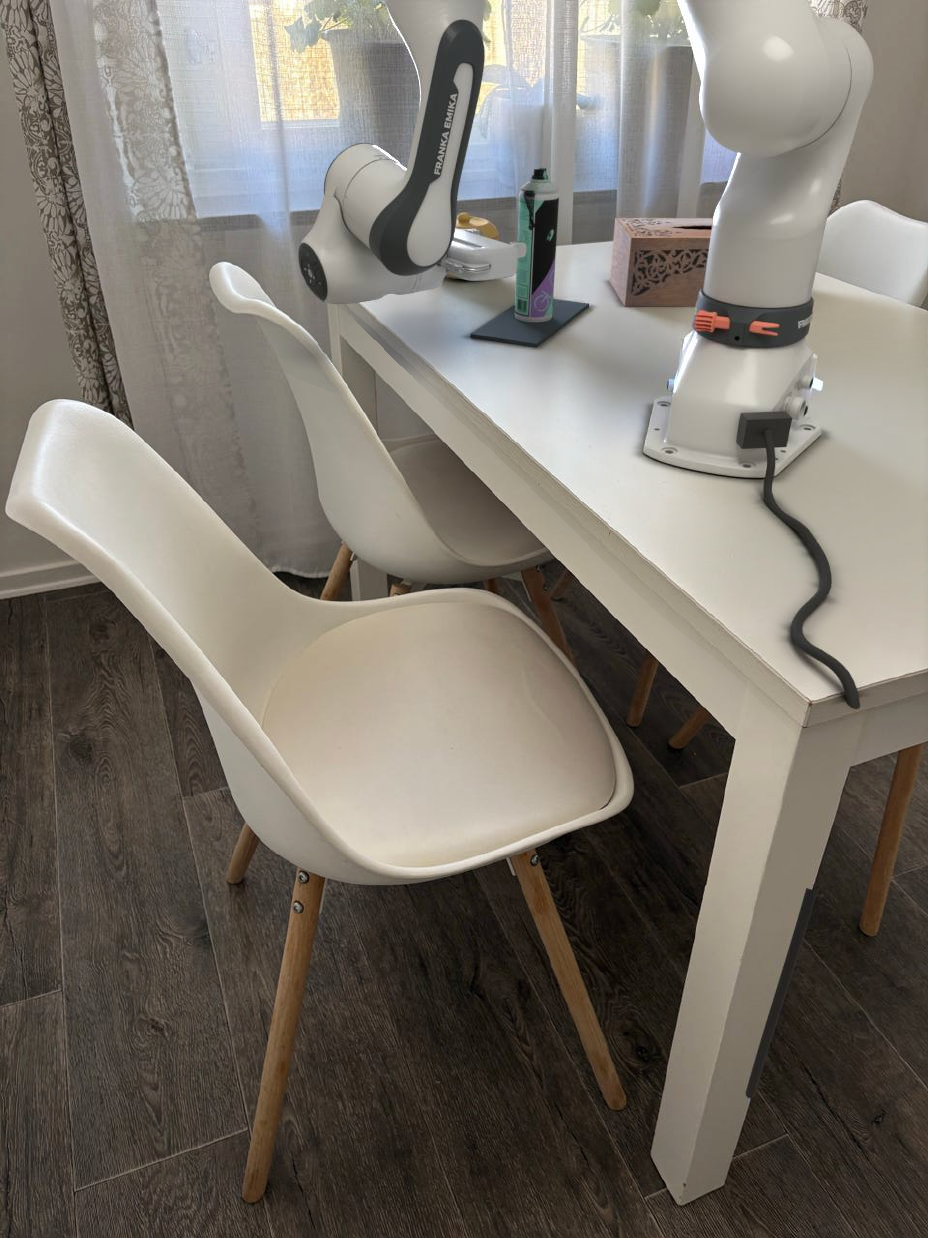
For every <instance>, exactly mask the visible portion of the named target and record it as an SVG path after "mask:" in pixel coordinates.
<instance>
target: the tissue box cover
mask: <svg viewBox="0 0 928 1238" xmlns="http://www.w3.org/2000/svg"><path fill="white" fill-rule="evenodd" d="M712 223H713V217H615V218H614V230H613V238H612V239H613V240H612V249H611V250H612V251H611V261H610V262H611V263H610V275H609V284H610V285H611V287H612V288H613V290H614V291H615V293H616V295H617V297H618V298H619V299H620V300H621V303H622V304H623V306H624V307H695V305H696V302H697V300H698V295H699V291H700V289H702V288H703V287H704V281H705V274H706V266H707V259H708V252H709V245H710V237H711V230H712Z"/></svg>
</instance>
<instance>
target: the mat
mask: <svg viewBox="0 0 928 1238" xmlns="http://www.w3.org/2000/svg"><path fill="white" fill-rule="evenodd" d="M588 308H590V303H589V302H580V301H574V300H573V301H572V300H567V299H566V300H565V299H557V298H553V309H552V318H551V319H550V320H548V321H545V322H525V321H521V320H518V319H516V318H515V304H514V305H512V306H510V307H509V308H507V309H506V310H505V311H503V312H502V313H500V314H498V315H497V316H495V317H494V318H492V319H490V320H489V321H487V322H486V323H485V324H483V325H481V326H479V327H478V328H476V329H475V330H474V331H472V332H471V333H470V334H469V337H470V338H472V339H478V340H479V339H480V340H485V341H493V342H500V343H505V344H511V345H520V346H526V347H533V348H538V347H539V346H540V345H542V344H543V343H544V342H545V341H547V340H549V338H551V337H552V336H553V335H554V334H556V333H557V332H558V331H560V330H561V329H562V328H564V327H565V326H566V325H568V324H569V323H570V322H571V321H573V320H574V319H575V318H576V317H577V316H579V315H580V314H581V313H583V312H584V311H586V310H587V309H588Z"/></svg>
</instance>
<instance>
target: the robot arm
mask: <svg viewBox="0 0 928 1238" xmlns="http://www.w3.org/2000/svg"><path fill="white" fill-rule="evenodd" d="M676 2H677V5H678V7H679V9H680V12H681V15H682V18H683V21H684V24H685V27H686V32H687V35H688V39H689V41H690V45H691V49H692V54H693V57H694V61H695V64H696V69H697V72H698V76H699V80H700V89H699V109H700V114H701V118H702V122H703V124H704V126H705V128H706V130H707V132H708V134H709V135H710V136H711V138H712V139H714V140H715V142H717V143H718V144H719V145H720V146H722V147H723V148H725V149H727V150H729V151H732V152H735V153H737V155H736V157H735V161H734V163H733V167H732V169H731V172H730V175H729V178H728V181H727V184H726V186H725V189H724V191H723V193H722V195H721V198H720V199H719V201H718V203H717V205H716V208H715V210H714V213H713V217H712V218H713V223H712V230H711V237H710V245H709V252H708V259H707V266H706V274H705V281H704V287H703V288H702V289H700V291H699V295H698V300H697V302H696V305H695V306H694V310H693V311H694V313H693V314H694V316H693V320H692V324H691V326H692V330H691V331H690V332H688V333H686V334H685V335H684V336H683V337H681V341H680V350H679V357H678V365H677V371H676V373H675V374H676V375H675V378H674V379H672V378H669V379H668V381H667V382H666V390H667V392H669V393H672V395H666V396H665V395H664V396H659V397H656V398H655V399H654V401H653V406H652V410H651V414H650V418H649V422H648V423H649V424H648V427H647V431H646V436H645V440H644V444H643V449H642V451H643V454H644V455H646V456H648V457H650V458H652V459H654V460H657V461H660V462H662V463H665V464H668V465H672V466H676V467H680V468H684V469H688V470H693V471H698V472H701V473H709V474H715V475H722V476H726V477H727V476H729V477H738V478H750V479H751V478H752V479H753V478H754V479H755V478H758V479H760V478H761V479H762V478H763V479H764V480H763V498H764V501H765V503H766V506H767V508H768V509H769V510H770V512H772V513H773V515H775V516H776V517H777V518H778V519H779V520H781V522H782V523H784V524H785V525H786V526H788V527H790V528H792V529H793V530H795V531H796V532H797V533H798V534H799V535H800V536H801V537H802V539H803V540H804V542H805V543H806V545H807V547H808V548H809V550H810V551H811V553H812V555H813V556H814V558H815V560H816V562H817V564H818V567H819V570H820V585H819V586H820V587H819V589H818V590H817V591H816V593H815V594H814V595H813V596H812V597H810V599H808V600H807V601H806V602H805V603H804V604H803V605H802V606H801V607H800V608H799V609H798V611H797V612H796V613H795V614H794V617H793V618H792V621H791V626H790V630H791V636H792V640H793V642H794V644H795V645H796V646H797V648H798V649H800V650H801V651H802V653H805V654H806V655H808V656H810V657H811V658H813V659H815V660H816V661H818V662H820V663H821V664H823V665H824V666H825V667H827V669H829V670H830V671H831V672H832V673H834V675H835V676H836V677H837V678H838V680H839V682H840V684H841V687H842V688H843V691H844V695H845V699H846V704H847V706H848V707H850V708H851V709H853V710H859V709H860V707H861V702H860V701H861V700H860V696H859V692H858V689H857V685H856V683H855V680H854V678H853V676H852V675H851V673H850V671H848V669H847V668H846V667H845V665H843V663H841V662H840V661H839V660H838V659H836V658H835V657H834V656H832V655H831V654H829V653H828V652H826V651H825V650H822V649H821V648H819V647H817V646H816V645H814V644H812V643H811V642H810V641H809V640H808V639H807V638H806V636H805V635H804V630H803V628H804V627H803V626H804V623H805V621H806V619H807V618H808V617H809V616H810V615H811V614H812V613H813V611H815V610H816V609H817V608H818V607H819V606H820V605H821V604H822V603H823V602H824V601H825V600H826V598H827V597H828V595H829V593H830V591H831V590H832V584H833V578H832V577H833V576H832V571H831V570H832V569H831V565H830V562H829V560H828V557H827V555H826V553H825V552H824V549H823V548H822V547H821V545H820V543H819V542H818V540H817V538H816V537H815V536H814V534H813V533H812V532H811V531H810V529H809V528H808V527H807V526H806V525H805V524H803V523H802V522H801V521H799V520H797V519H796V518H794V517H793V516H791V515H789V514H788V513H786V512H785V511H784V510H783V509H782V508H781V507H780V506H779V505H778V504H777V501H776V500H775V497H774V493H773V483H774V478H775V477H776V476H777V475H779V474H780V473H781V472H782V471H783V470H784V469H785V468H786V467H787V466H789V465H790V464H791V463H792V462H793V461H794V460H795V459H797V457H799V456H800V455H801V454H802V453H803V452H804V451H805V450H806V449H807V448H808V447H810V446H811V445H812V444H813V443H814V442H815V441H816V440H817V439H818V438H819V437H820V436H821V435H822V429H823V425H822V423H820V422H819V421H817V420H815V419H814V418H811V417H809V410H810V403H811V399H812V394H813V389H816V390H817V391H822V389H823V383H824V381H822V380H820V379H818V378H817V377H816V371H817V366H818V365H817V364H818V355H817V354H816V353H815V351H814V350H813V349H812V348H811V347H810V344H809V342H808V341H807V338H806V337H807V336H808V334H809V332H810V328H811V322H812V320H813V315H814V303H815V298H813V296H812V294H813V293H812V292H813V288H814V283H815V278H816V273H817V270H818V269H817V268H818V263H819V259H820V254H821V249H822V244H823V239H824V234H825V229H826V226H827V221H828V218H829V214H830V211H831V207H832V204H833V201H834V198H835V194H836V192H837V189H838V186H839V184H840V181H841V178H842V175H843V172H844V169H845V166H846V163H847V160H848V157H849V154H850V152H851V151H850V150H851V148H852V145H853V141H854V137H855V134H856V131H857V127H858V124H859V120H860V117H861V114H862V110H863V108H864V105H865V103H866V101H867V98H868V96H869V93H870V91H871V89H872V88H871V87H872V84H873V79H874V71H875V70H874V60H873V55H872V52H871V49H870V48H869V47H870V46H869V45H868V44H867V42H866V40H865V39H864V38H863V36H862V34H860V33H859V32H858V31H857V30H856V29H855V28H854V27H853V26H852V25H851V24H849V23H847V22H845V21H844V20H842V19H839V18H836V17H831V16H830V17H829V16H817V15H816V14H815V12H814V10H813V8H812V7H811V4H810V1H809V0H676ZM486 3H487V0H384V4H385V7H386V10H387V12H388V14H389V17H390V19H391V21H392V24H393V26H394V27H395V29H396V30H397V31H398V34H399V35H400V36H401V38H402V40H403V42H404V43H405V46H406V47H407V49H408V52H409V54H410V56H411V59H412V62H413V64H414V67H415V70H416V73H417V78H418V81H419V83H418V84H419V105H418V111H417V117H416V121H415V127H414V132H413V136H412V140H411V146H410V152H409V156H408V161H407V165H406V167H405V166H404V165H403V164H402V163H401V162H399V160H397V159H396V158H394V157H393V156H391V155H390V154H389V153H388V152H386V151H385V150H383V149H382V148H380V147H379V146H377V145H375V144H373V143H369V142H358V143H355V144H353V145H350V146H348V147H346V148H344V149H343V150H342V151H340V152H339V153H338V154H337V155H336V156H335V157H334V158H333V160H332V161H331V163H330V164H329V166H328V168H327V170H326V173H325V177H324V181H323V198H322V201H321V204H320V209H319V212H318V215H317V218H316V219H315V222H314V224H313V226H312V228H311V230H310V231H309V232H308V233H307V234H306V235H305V237H304V238H303V239H302V240H301V241H300V242H299V243H300V244H299V247H298V254H297V255H298V256H297V257H298V258H297V259H298V264H299V266H298V267H299V270H300V273H301V276H302V277H303V279H304V282H305V284H306V286H307V288H308V290H310V291H311V292H312V294H313V295H314V296H315V297H316V298H318V299H319V301H322V302H323V303H326V304H330V305H350V304H359V303H366V302H372V301H376V300H380V299H382V298H384V297H386V296H387V295H397V296H402V295H409V294H414V293H420V292H424V291H430V290H431V291H432V290H435V289H437V288H439V287H440V286H441V284H442V283H443V281H444V279H445V277H446V275H447V274H451V275H454V276H457V277H460V278H462V279H461V280H466V281H471V282H472V281H475V282H477V281H478V282H479V281H489V280H499V279H506V278H511V277H514V276H516V272H517V267H518V258H521V257H524V256H525V255H526V244H525V243H522V242H519V241H518V240H516V241H510V242H509V243H506V242H503V241H500V240H498V241H497V240H493V239H490V238H487V237H483V236H482V235H483V232H482V231H481V230H478V229H475V228H474V229H467V230H466V229H457V228H456V217H458V214H457V213H458V212H457V211H458V196H459V190H460V189H459V188H460V184H461V183H460V182H461V178H462V174H463V170H464V165H465V160H466V155H467V152H468V147H469V143H470V138H471V134H472V130H473V124H474V120H475V116H476V111H477V106H478V103H479V102H478V101H479V96H480V94H481V93H480V92H481V87H482V82H483V76H484V68H485V60H486V58H485V57H486V55H485V54H486V49H485V44H484V36H483V34H484V32H483V31H484V29H483V27H484V16H485V15H484V14H485V8H486ZM817 894H818V890H814V889H811V888H809V887H806V888H805V891H804V894H803V898H802V901H801V905H800V908H799V913H798V916H797V920H796V923H795V926H794V929H793V933H792V935H791V940H790V943H789V946H788V949H787V952H786V956H785V960H784V962H783V966H782V969H781V973H780V976H779V979H778V982H777V986H776V988H775V989H776V990H775V992H774V994H773V998H772V1002H771V1005H770V1007H769V1012H768V1015H767V1018H766V1021H765V1025H764V1028H763V1031H762V1034H761V1038H760V1041H759V1045H758V1047H757V1051H756V1054H755V1057H754V1060H753V1061H754V1062H753V1065H752V1069H751V1072H750V1075H749V1079H748V1082H747V1086H746V1090H745V1096H746V1097H747V1098H748V1099H751V1100H752V1099H754V1098H755V1095H756V1092H757V1089H758V1086H759V1083H760V1079H761V1075H762V1072H763V1069H764V1066H765V1063H766V1060H767V1059H766V1058H767V1055H768V1053H769V1049H770V1045H771V1043H772V1039H773V1036H774V1033H775V1030H776V1027H777V1025H778V1021H779V1018H780V1013H781V1011H782V1007H783V1005H784V1002H785V998H786V995H787V993H788V989H789V987H790V982H791V980H792V976H793V973H794V971H795V966H796V963H797V961H798V957H799V954H800V950H801V947H802V944H803V941H804V937H805V934H806V931H807V928H808V924H809V921H810V918H811V915H812V912H813V908H814V904H815V901H816V898H817Z"/></svg>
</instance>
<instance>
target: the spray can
mask: <svg viewBox="0 0 928 1238" xmlns="http://www.w3.org/2000/svg"><path fill="white" fill-rule="evenodd" d="M559 189H560V188H559V186H557V185H556V184H554V183H553V182H552V181H551V178H550V177H549V175H548V174H547V168H546V167H540V168H535V169H533V174H531V177H529V180H528V181H527V182H526V183H524V184H523V185H521V186H520V188H519V190H520V191H519V193H518V195H519V196H518V217H517V218H518V221H517V241H519V242H522V243H525V244H526V255H525V256H524V257H521V258H518V267H517V272H516V274H515V297H514V298H515V299H514V301H515V302H514V305H515V318H516V319H518V320H521V321H525V322H545V321H548V320H550V319H551V318H552V309H553V299H554V290H555V289H554V288H555V273H556V255H557V241H558V239H557V237H558V222H559V205H560V204H559V203H560V192H559Z"/></svg>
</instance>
